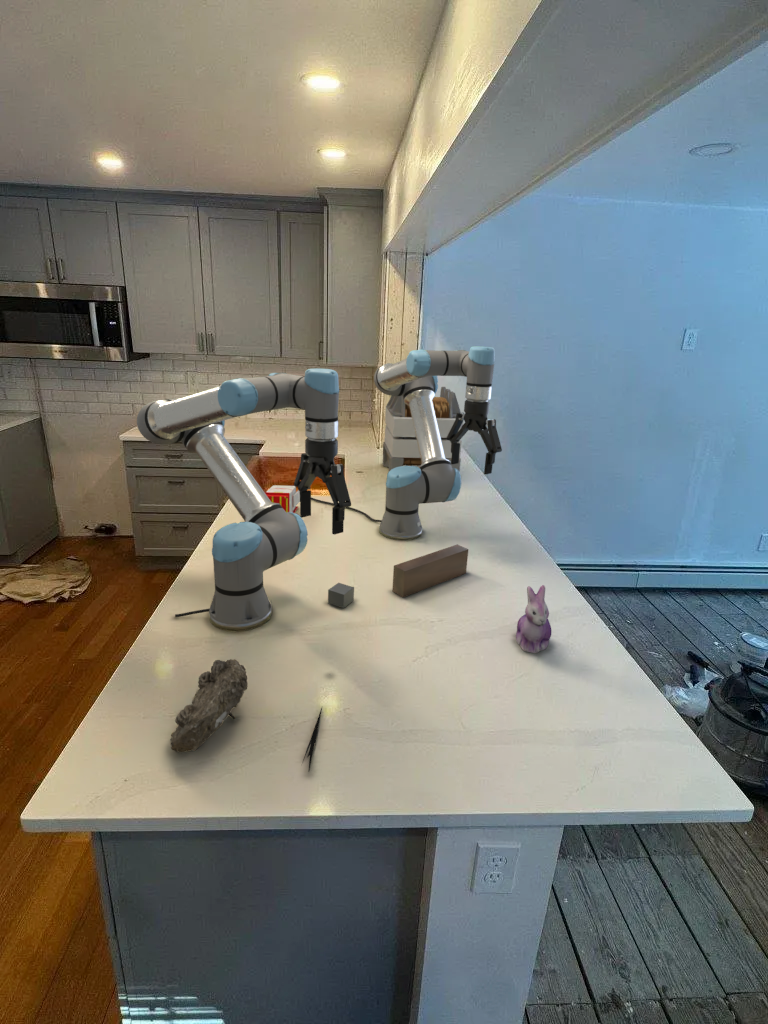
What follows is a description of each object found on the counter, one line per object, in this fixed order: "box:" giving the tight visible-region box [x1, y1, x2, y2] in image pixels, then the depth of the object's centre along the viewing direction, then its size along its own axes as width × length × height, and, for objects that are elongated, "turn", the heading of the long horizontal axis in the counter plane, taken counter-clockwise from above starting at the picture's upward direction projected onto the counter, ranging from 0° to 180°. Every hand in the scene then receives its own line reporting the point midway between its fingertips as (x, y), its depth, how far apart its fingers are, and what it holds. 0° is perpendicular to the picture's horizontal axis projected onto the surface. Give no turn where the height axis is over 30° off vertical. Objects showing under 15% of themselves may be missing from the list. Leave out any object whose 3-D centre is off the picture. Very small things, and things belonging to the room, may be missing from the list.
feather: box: [301, 673, 332, 771], centre depth 108 cm, size 2×28×2 cm
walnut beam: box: [392, 544, 469, 598], centre depth 164 cm, size 4×26×8 cm, turn 131°
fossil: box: [170, 658, 249, 753], centre depth 106 cm, size 22×10×15 cm
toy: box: [264, 484, 300, 513], centre depth 208 cm, size 12×13×30 cm
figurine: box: [515, 584, 552, 654], centre depth 134 cm, size 9×10×15 cm
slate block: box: [327, 582, 355, 609], centre depth 152 cm, size 5×5×4 cm
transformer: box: [381, 386, 465, 472], centre depth 268 cm, size 34×33×41 cm
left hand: (321, 524), depth 138 cm, fingers open, 13 cm apart
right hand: (470, 468), depth 177 cm, fingers open, 13 cm apart
